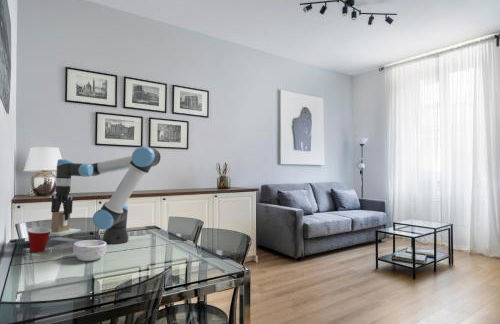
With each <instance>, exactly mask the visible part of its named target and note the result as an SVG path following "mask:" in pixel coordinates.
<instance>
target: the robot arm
mask: <svg viewBox="0 0 500 324" xmlns="http://www.w3.org/2000/svg"><path fill="white" fill-rule="evenodd" d="M161 159H162V158H161V153H160V152H159V151H158V150H157V149H156V148H155V147H149V146H144V145H143V146H139V147H137V148H135V149H134V150H133V151H132V154H131V155H129V156H124V157H119V158H115V159H110V160H109V159H108V160H105V161H100V162H94V163H81V162H80V163H73V160H72V159H62V158H61V159H58V160H57V163H56V178H55V185H56V186H55V189H54V190H55V194H53V195H51V208H50V209H51V210H50V212H51V213H52V212H59V211H61V210H60V209H61V205H62V208H63V211H64V214H63V224H62V226H66V225H67V220H68V217H69V214H70V215H71V214H72V213H73V204H74V203H73V200H74V196H71V195H70V192H71V184H72V183H71V182H72V181H71V180H72V177H91V176H92V177H95V176H99V175H104V174H108V173H113V172H114V173H115V172H119V171H124V170H127V172H126V173H125V175H124V176H123V178H121V181H120V183H119V184H118V186H117V187H116V188H115V191H114V192H113V194H112V195H111V197H110V198H109V200H108V201H105V202H104V203H103V205H102V206H101V207H100V209H97V211H95V212H94V213H93V215H92V223H93V225H94V226H95V227H96V228H97V229H99V230H103V231H104V233H103V236H102V237H101V238H102V239H101V241H105V242H106V243H107V245H109V244H110V245H114V244H115V245H119V244H124V243H123V242H125V243H127V242H126V241H128V242H129V234H128V230H127V223H128V212H129V209H128V208H129V207H128V205H127V204H126V203H127V202H128V200H129V198H130V197H131V195H132V194H133V192H134V190H135V189H136V187H137V186H138V185H139V182H140V181H141V179H142V178H143V177H144V175H146V174H148V173H149V171H150V170H151V169H152V167H153V168H154V167H155V166H157V165H158V164H159V163H160V162H161Z"/></svg>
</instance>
